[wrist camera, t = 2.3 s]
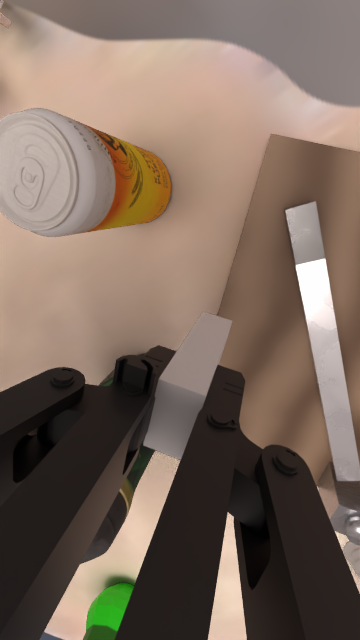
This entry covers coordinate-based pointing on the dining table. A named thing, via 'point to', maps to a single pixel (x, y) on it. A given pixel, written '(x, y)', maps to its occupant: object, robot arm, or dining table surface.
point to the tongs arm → (323, 336)
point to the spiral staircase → (3, 20)
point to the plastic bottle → (107, 612)
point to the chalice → (353, 556)
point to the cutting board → (294, 298)
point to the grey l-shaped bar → (341, 503)
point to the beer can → (75, 176)
